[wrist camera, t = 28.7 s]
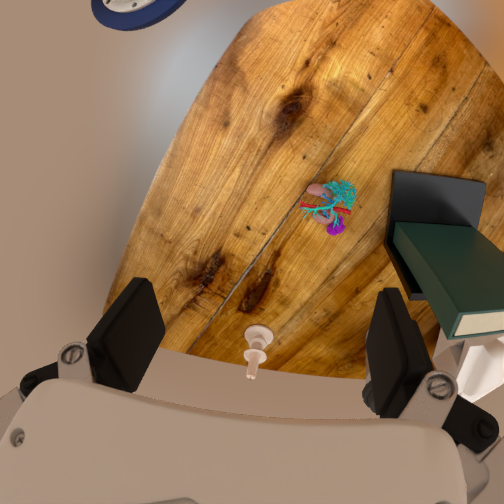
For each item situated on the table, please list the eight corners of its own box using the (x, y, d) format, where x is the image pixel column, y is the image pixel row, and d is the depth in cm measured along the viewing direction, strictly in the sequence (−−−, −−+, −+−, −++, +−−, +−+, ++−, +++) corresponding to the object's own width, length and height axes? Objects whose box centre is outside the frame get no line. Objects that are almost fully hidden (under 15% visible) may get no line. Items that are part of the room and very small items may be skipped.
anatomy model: (293, 238, 36) (346, 249, 34) (302, 176, 32) (360, 187, 30) (298, 223, 40) (346, 232, 39) (306, 167, 36) (357, 177, 35)
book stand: (392, 169, 34) (432, 201, 22) (483, 181, 31) (534, 215, 20) (383, 245, 39) (409, 300, 28) (468, 248, 36) (507, 296, 25)
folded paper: (468, 379, 28) (439, 425, 36) (568, 333, 22) (531, 387, 30) (435, 298, 42) (422, 356, 50) (528, 272, 36) (506, 330, 44)
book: (458, 312, 18) (447, 340, 19) (550, 303, 16) (539, 326, 17) (395, 221, 36) (392, 241, 37) (474, 227, 33) (469, 245, 35)
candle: (264, 347, 53) (256, 392, 44) (239, 336, 52) (228, 380, 43) (279, 332, 50) (273, 378, 41) (253, 319, 49) (243, 365, 40)
